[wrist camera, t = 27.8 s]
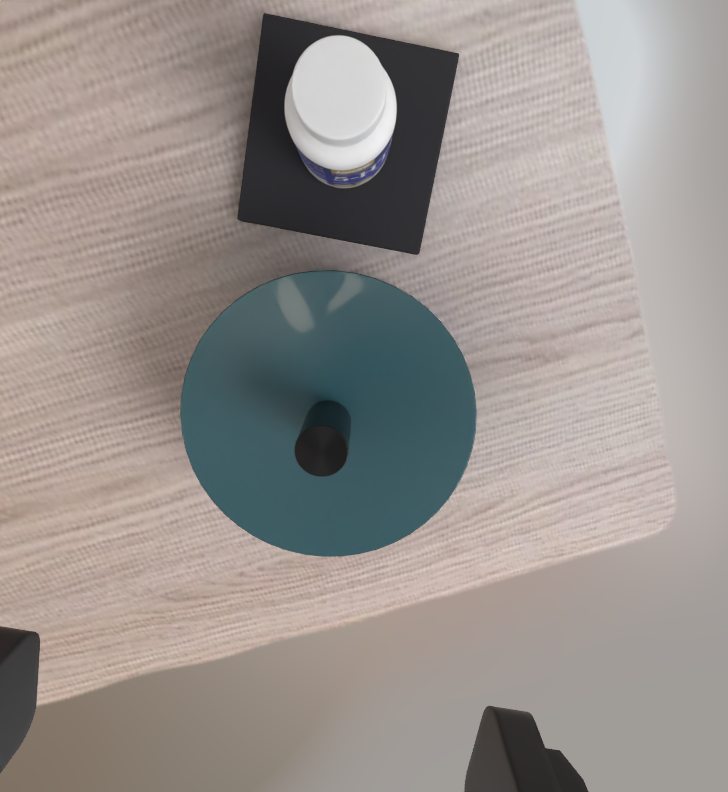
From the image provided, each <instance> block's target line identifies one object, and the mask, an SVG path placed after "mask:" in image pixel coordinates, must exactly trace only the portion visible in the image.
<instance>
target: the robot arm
mask: <svg viewBox="0 0 728 792" xmlns="http://www.w3.org/2000/svg"><path fill="white" fill-rule="evenodd" d="M39 651H40V638H39V635H38V633H36V632H32V631H26V630H20V629H13V628H7V627H1V626H0V773H1V771H2V770H3V769H4V767H5V766H6V765H7V763H8V762H9V760H10V759H11V758H12V756H13V755H14V754H15V752H16V751H17V750H18V748H19V747H20V745H21V743H22V742H23V740H24V738H25V736H26V734H27V732H28V730H29V728H30V725H31V723H32V720H33V717H34V713H35V709H36V700H37V684H38V668H39ZM465 792H588V790H587V787H586V785H585V783H584V780H583V779H582V778H581V776H580V775H579V774H578V773H577V771H576V770H575V769H574V768H573V766H572V765H571V764H570V763H569V762H568V760H567V759H566V758H565V757H564V755H563V754H562V753H561V751H559V750H552V749H547V748H545V747H544V744H543V741H542V738H541V736H540V733H539V731H538V728H537V725H536V723H535V720H534V718H533V716H532V715H531V714H530V713H528V712H524V711H518V710H511V709H505V708H499V707H493V706H488V707H486V709H485V710H484V713H483V716H482V719H481V723H480V726H479V730H478V734H477V737H476V741H475V745H474V748H473V752H472V755H471V759H470V762H469V766H468V770H467V774H466V780H465Z"/></svg>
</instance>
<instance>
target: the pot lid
mask: <svg viewBox="0 0 728 792" xmlns="http://www.w3.org/2000/svg"><path fill="white" fill-rule="evenodd" d="M180 416H181V427H182V435H183V439H184V444H185V448H186V452H187V455H188V457H189V460H190V463H191V465H192V468H193V470H194V472H195V474H196V476H197V478H198V480H199V482H200V484H201V485H202V487H203V488H204V490H205V491H206V492H207V494H208V495H209V497H210V498H211V500H212V501H213V502H214V503H215V504H216V505H217V506H218V507H219V509H220V510H221V511H222V512H223V513H224V514H225V515H226V516H227V517H229V518H230V519H231V520H232V521H233V522H234V523H236V524H237V525H238V526H239V527H241V528H242V529H244V530H245V531H247V532H248V533H250V534H251V535H253V536H255V537H257V538H259V539H261V540H263V541H265V542H267V543H269V544H271V545H274V546H276V547H279V548H282V549H285V550H288V551H292V552H296V553H301V554H305V555H314V556H347V555H355V554H361V553H365V552H369V551H373V550H377V549H379V548H382V547H384V546H387V545H390V544H392V543H394V542H396V541H398V540H400V539H402V538H404V537H406V536H407V535H409V534H411V533H412V532H414V531H415V530H416V529H418V528H419V527H421V526H422V525H423V524H425V523H426V522H427V521H428V520H429V519H430V518H431V517H432V516H433V515H435V514H436V513H437V512H438V511H439V509H440V508H441V507H442V506H443V505H444V504H445V502H446V501H447V500H448V499H449V498H450V496H451V494H452V493H453V491H454V490H455V488H456V487H457V485H458V483H459V482H460V480H461V478H462V475H463V473H464V471H465V469H466V467H467V464H468V461H469V458H470V455H471V452H472V448H473V443H474V437H475V431H476V401H475V392H474V388H473V384H472V379H471V375H470V372H469V370H468V367H467V364H466V362H465V359H464V357H463V355H462V353H461V351H460V349H459V347H458V346H457V344H456V342H455V340H454V339H453V337H452V336H451V334H450V333H449V332H448V331H447V329H446V328H445V327H444V325H443V324H442V323H441V322H440V321H439V320H438V319H437V317H436V316H435V315H434V314H433V313H432V312H431V311H430V310H429V309H428V308H426V307H425V306H424V305H422V304H421V303H420V302H419V301H417V300H416V299H415V298H413V297H412V296H411V295H409V294H407V293H405V292H404V291H402V290H400V289H398V288H397V287H395V286H393V285H390V284H388V283H386V282H383V281H381V280H378V279H376V278H372V277H369V276H365V275H361V274H357V273H351V272H343V271H335V270H333V271H309V272H302V273H296V274H291V275H288V276H284V277H281V278H278V279H274V280H272V281H270V282H267V283H265V284H263V285H261V286H258V287H256V288H254V289H253V290H251V291H250V292H248V293H246V294H245V295H243V296H242V297H240V298H238V299H237V300H236V301H235V302H234V303H232V304H231V305H230V306H229V307H228V308H226V309H225V310H224V311H223V312H222V313H221V314H220V315H219V316H218V318H217V319H216V320H215V321H214V322H213V323H212V324H211V325H210V327H209V328H208V330H207V331H206V332H205V334H204V335H203V337H202V338H201V340H200V341H199V343H198V345H197V347H196V349H195V351H194V353H193V355H192V357H191V360H190V363H189V366H188V369H187V372H186V375H185V378H184V383H183V389H182V394H181V412H180Z"/></svg>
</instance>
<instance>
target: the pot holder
mask: <svg viewBox="0 0 728 792" xmlns="http://www.w3.org/2000/svg"><path fill="white" fill-rule="evenodd" d="M337 35H342V36H348V37H352V38H355V39H357V40H359V41H360V42H362V43H364V44H365V45H366V46H368V47H369V48H370V49H371V50H372V51H373V52H374V54H375V55H376V56H377V58H378V60H379V62H380V63H381V65H382V67H383V68H384V70H385V71H386V73H387V74H388V76H389V78H390V80H391V82H392V85H393V88H394V91H395V95H396V103H397V114H396V123H395V128H394V132H393V136H392V140H391V144H390V148H389V152H388V155H387V158H386V160H385V162H384V164H383V166H382V168H381V169H380V170H379V172H378V173H377V174H376V175H375V176H374V177H373V178H371V179H370V180H369V181H367V182H365V183H363V184H361V185H359V186H355V187H351V188H337V187H333V186H330V185H327V184H325V183H323V182H321V181H320V180H318V179H317V178H316V177H315V176H314V175H313V174H312V173H311V172H310V171H309V170H308V168H307V167H306V165H305V164H304V162H303V160H302V158H301V156H300V154H299V152H298V150H297V148H296V146H295V144H294V142H293V140H292V138H291V135H290V133H289V130H288V127H287V123H286V118H285V109H284V107H285V95H286V90H287V87H288V84H289V81H290V79H291V77H292V75H293V71H294V68H295V65H296V63H297V61H298V59H299V58H300V56H301V55H302V53H303V52H304V51H305V50H306V49H307V48H308V47H309V46H310V45H312V44H313V43H315V42H316V41H318V40H320V39H322V38H325V37H328V36H337ZM458 58H459V54H458V53H453V52H448V51H443V50H439V49H434V48H429V47H424V46H419V45H415V44H410V43H405V42H400V41H395V40H391V39H386V38H381V37H376V36H371V35H366V34H362V33H357V32H352V31H347V30H342V29H338V28H333V27H328V26H323V25H318V24H314V23H309V22H304V21H299V20H294V19H290V18H285V17H280V16H275V15H270V14H265V13H264V15H263V22H262V30H261V38H260V46H259V53H258V61H257V69H256V77H255V85H254V92H253V100H252V108H251V116H250V124H249V132H248V139H247V147H246V155H245V163H244V171H243V179H242V186H241V194H240V202H239V210H238V220H240V221H244V222H249V223H255V224H260V225H265V226H270V227H275V228H281V229H286V230H291V231H296V232H301V233H307V234H312V235H317V236H322V237H327V238H333V239H338V240H343V241H348V242H353V243H359V244H364V245H369V246H374V247H380V248H385V249H390V250H395V251H400V252H406V253H411V254H416V255H417V254H419V252H420V247H421V242H422V237H423V232H424V227H425V222H426V217H427V212H428V207H429V202H430V197H431V192H432V187H433V183H434V178H435V173H436V168H437V163H438V158H439V153H440V148H441V143H442V138H443V133H444V128H445V123H446V118H447V113H448V108H449V103H450V98H451V93H452V88H453V83H454V78H455V73H456V68H457V63H458Z"/></svg>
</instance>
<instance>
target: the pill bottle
mask: <svg viewBox="0 0 728 792" xmlns="http://www.w3.org/2000/svg"><path fill="white" fill-rule="evenodd" d="M284 109H285V118H286V123H287V127H288V130H289V133H290V135H291V138H292V140H293V142H294V144H295V146H296V148H297V150H298V152H299V154H300V156H301V158H302V160H303V162H304V164H305V165H306V167H307V168H308V170H309V171H310V172H311V173H312V174H313V175H314V176H315V177H316V178H317V179H318V180H320V181H321V182H323V183H325V184H327V185H330V186H333V187H337V188H351V187H355V186H359V185H361V184H363V183H365V182H367V181H369V180H370V179H371V178H373V177H374V176H375V175H376V174H377V173H378V172H379V170H380V169H381V168H382V166H383V164H384V162H385V160H386V158H387V155H388V152H389V148H390V144H391V140H392V136H393V132H394V128H395V123H396V114H397V103H396V95H395V91H394V88H393V85H392V82H391V80H390V78H389V76H388V74H387V73H386V71H385V70H384V68H383V67H382V65H381V63H380V62H379V60H378V58H377V56H376V55H375V54H374V52H373V51H372V50H371V49H370V48H369V47H368V46H366V45H365V44H364V43H362V42H360V41H359V40H357V39H355V38H352V37H348V36H342V35H337V36H328V37H325V38H322V39H320V40H318V41H316V42H315V43H313V44H312V45H310V46H309V47H308V48H307V49H306V50H305V51H304V52H303V53H302V55H301V56H300V58H299V59H298V61H297V63H296V65H295V68H294V71H293V75H292V77H291V79H290V81H289V84H288V87H287V90H286V95H285V107H284Z"/></svg>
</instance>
